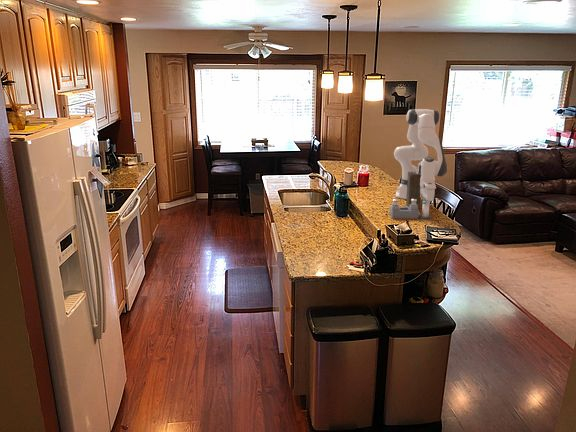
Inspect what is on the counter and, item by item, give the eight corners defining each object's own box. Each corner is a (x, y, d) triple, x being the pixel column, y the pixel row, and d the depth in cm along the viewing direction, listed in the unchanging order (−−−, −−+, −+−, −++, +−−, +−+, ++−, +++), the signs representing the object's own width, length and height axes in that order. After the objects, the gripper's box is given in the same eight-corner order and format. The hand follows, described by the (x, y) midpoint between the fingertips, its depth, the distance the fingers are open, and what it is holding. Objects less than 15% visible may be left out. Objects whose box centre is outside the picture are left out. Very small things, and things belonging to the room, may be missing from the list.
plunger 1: (391, 207, 301) (392, 199, 300) (397, 207, 301) (397, 198, 300) (392, 209, 298) (393, 200, 296) (398, 209, 298) (398, 200, 296)
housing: (389, 214, 306) (389, 203, 304) (415, 213, 305) (415, 202, 303) (392, 218, 296) (392, 207, 294) (418, 218, 296) (419, 207, 294)
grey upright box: (420, 210, 313) (422, 174, 306) (407, 210, 314) (409, 174, 307) (417, 203, 331) (419, 169, 324) (405, 202, 332) (407, 168, 325)
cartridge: (420, 215, 299) (421, 200, 296) (427, 215, 299) (429, 200, 296) (422, 217, 295) (423, 202, 292) (429, 217, 295) (430, 202, 292)
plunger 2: (410, 207, 301) (410, 198, 299) (415, 207, 301) (416, 198, 299) (411, 208, 298) (411, 200, 296) (416, 208, 297) (417, 200, 296)
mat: (417, 215, 302) (417, 214, 301) (429, 215, 301) (429, 214, 301) (420, 219, 294) (420, 218, 294) (432, 219, 294) (432, 218, 294)
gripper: (418, 179, 301) (416, 200, 305) (426, 187, 282) (424, 208, 286) (428, 179, 301) (426, 200, 305) (436, 186, 281) (435, 208, 285)
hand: (425, 204), depth 295 cm, fingers open, 7 cm apart
